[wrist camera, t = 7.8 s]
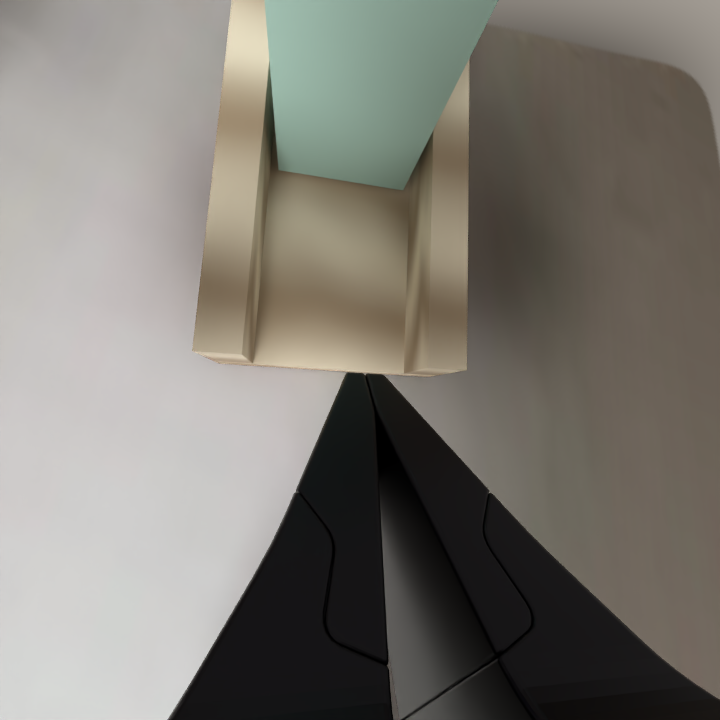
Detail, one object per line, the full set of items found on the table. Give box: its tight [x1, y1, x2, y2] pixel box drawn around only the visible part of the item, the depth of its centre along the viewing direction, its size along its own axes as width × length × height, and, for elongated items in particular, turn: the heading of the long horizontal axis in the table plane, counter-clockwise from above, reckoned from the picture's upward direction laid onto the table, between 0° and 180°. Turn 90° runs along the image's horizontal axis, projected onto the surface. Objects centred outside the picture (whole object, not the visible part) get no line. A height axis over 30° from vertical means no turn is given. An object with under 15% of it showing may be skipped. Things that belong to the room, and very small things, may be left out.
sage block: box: [264, 0, 498, 190], centre depth 12 cm, size 6×6×10 cm
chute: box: [192, 0, 469, 377], centre depth 15 cm, size 17×10×4 cm, turn 177°
